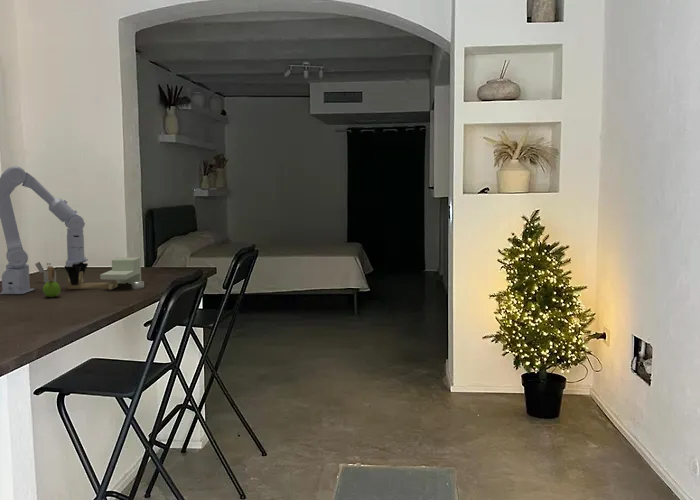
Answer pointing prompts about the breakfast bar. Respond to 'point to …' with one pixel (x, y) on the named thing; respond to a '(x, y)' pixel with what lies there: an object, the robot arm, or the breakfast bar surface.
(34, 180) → the robot arm
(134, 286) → the token
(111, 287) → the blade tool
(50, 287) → the green gourd
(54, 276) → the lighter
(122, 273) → the pale chair
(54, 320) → the breakfast bar surface
